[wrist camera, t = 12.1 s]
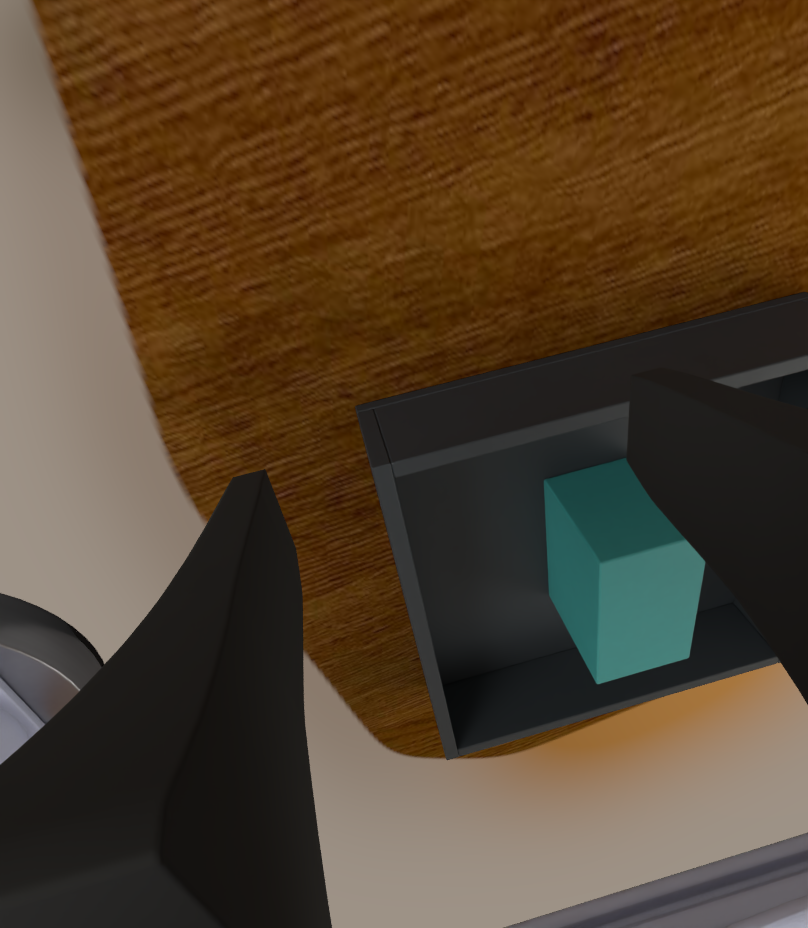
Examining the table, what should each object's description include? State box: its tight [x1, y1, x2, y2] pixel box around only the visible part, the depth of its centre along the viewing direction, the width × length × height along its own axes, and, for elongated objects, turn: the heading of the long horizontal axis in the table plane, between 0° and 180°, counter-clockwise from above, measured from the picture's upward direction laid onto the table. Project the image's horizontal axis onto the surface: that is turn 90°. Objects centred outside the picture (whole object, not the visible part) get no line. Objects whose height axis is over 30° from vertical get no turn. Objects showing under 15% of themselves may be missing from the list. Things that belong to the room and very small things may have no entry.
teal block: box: [544, 458, 705, 684], centre depth 24 cm, size 4×7×5 cm, turn 10°
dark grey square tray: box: [355, 292, 808, 760], centre depth 25 cm, size 17×17×4 cm
